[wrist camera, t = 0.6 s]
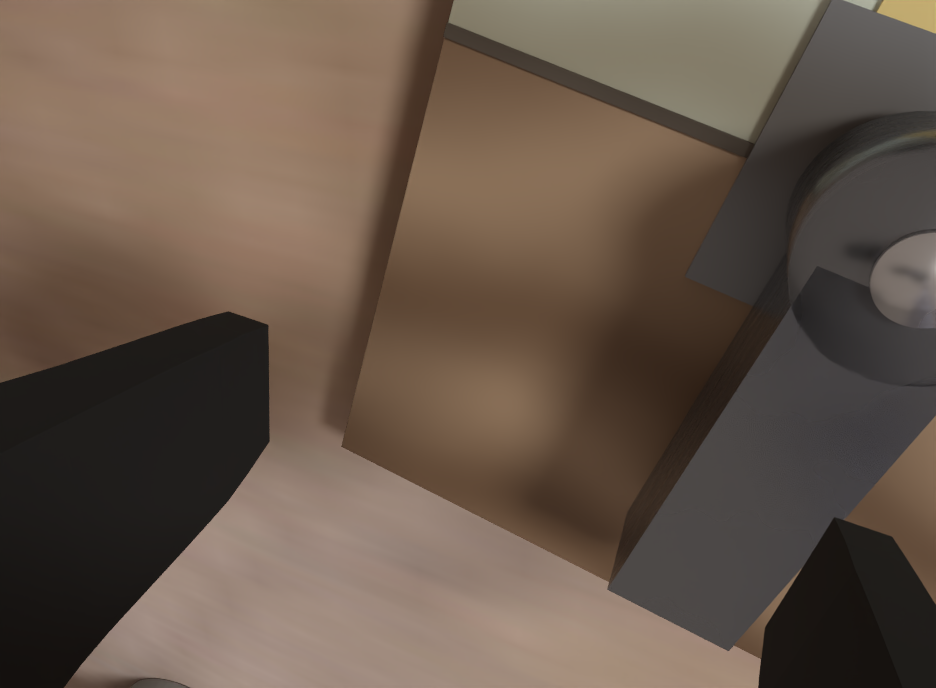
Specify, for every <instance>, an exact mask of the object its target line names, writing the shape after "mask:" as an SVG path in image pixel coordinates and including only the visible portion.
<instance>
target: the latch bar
mask: <svg viewBox="0 0 936 688" xmlns="http://www.w3.org/2000/svg"><path fill="white" fill-rule="evenodd" d="M785 232H786V253H785V255H784V257H783V258H782V260H781V262H780V263H779V265H778V266H777V268H776V270H775V271H774V273H773V275H772V276H771V278H770V279H769V281H768V283H767V284H766V286H765V288H764V289H763V291H762V293H761V294H760V296H759V297H758V299H757V301H756V302H755V304H754V306H753V307H752V309H751V310H750V312H749V314H748V315H747V317H746V319H745V320H744V322H743V324H742V325H741V327H740V328H739V330H738V332H737V333H736V335H735V337H734V338H733V340H732V342H731V343H730V345H729V346H728V348H727V350H726V351H725V353H724V355H723V356H722V358H721V359H720V361H719V363H718V364H717V366H716V368H715V369H714V371H713V373H712V374H711V376H710V377H709V379H708V381H707V382H706V384H705V386H704V387H703V389H702V390H701V392H700V394H699V395H698V397H697V399H696V400H695V402H694V404H693V405H692V407H691V408H690V410H689V412H688V413H687V415H686V417H685V418H684V420H683V422H682V423H681V425H680V426H679V428H678V430H677V431H676V433H675V435H674V436H673V438H672V439H671V441H670V443H669V444H668V446H667V448H666V449H665V451H664V453H663V454H662V456H661V457H660V459H659V461H658V462H657V464H656V466H655V467H654V469H653V471H652V472H651V474H650V475H649V477H648V479H647V480H646V482H645V484H644V485H643V487H642V488H641V490H640V492H639V493H638V495H637V497H636V498H635V500H634V502H633V503H632V505H631V506H630V508H629V510H628V511H627V514H626V518H625V522H624V526H623V530H622V534H621V538H620V542H619V546H618V550H617V554H616V557H615V561H614V565H613V569H612V573H611V577H610V581H609V585H608V589H607V590H609V591H611V592H613V593H615V594H617V595H619V596H621V597H623V598H625V599H627V600H629V601H631V602H633V603H635V604H637V605H639V606H641V607H643V608H645V609H647V610H649V611H651V612H653V613H655V614H656V615H658V616H660V617H662V618H664V619H666V620H668V621H670V622H672V623H674V624H676V625H678V626H680V627H682V628H684V629H686V630H688V631H690V632H692V633H694V634H696V635H698V636H700V637H702V638H704V639H706V640H708V641H710V642H712V643H714V644H716V645H717V646H719V647H721V648H723V649H725V650H727V651H729V650H730V649H731V648H732V647H733V646H734V644H735V643H736V642H737V641H738V640H739V639H740V638H741V637H742V635H743V634H744V633H745V632H746V631H747V630H748V629H749V627H750V626H751V625H752V624H753V623H754V622H755V621H756V619H757V618H758V617H759V616H760V615H761V614H762V613H763V612H764V610H765V609H766V608H767V607H768V606H769V605H770V604H771V602H772V601H773V600H774V599H775V598H776V597H777V596H778V594H779V593H780V592H781V591H782V590H783V589H784V588H785V587H786V585H787V584H788V583H789V582H790V581H791V580H792V579H793V577H794V576H795V575H796V574H797V573H798V572H799V571H800V569H801V568H802V567H803V566H804V564H805V563H806V561H807V560H808V558H809V556H810V555H811V553H812V552H813V550H814V548H815V547H816V545H817V544H818V542H819V541H820V539H821V537H822V536H823V534H824V533H825V531H826V529H827V528H828V526H829V525H830V523H831V521H832V520H833V518H834V517H836V518H839V519H842V520H844V519H845V518H846V517H847V516H848V515H849V514H850V513H851V512H852V510H853V509H854V508H855V507H856V506H857V505H858V504H859V502H860V501H861V500H862V499H863V498H864V497H865V496H866V494H867V493H868V492H869V491H870V490H871V489H872V488H873V487H874V485H875V484H876V483H877V482H878V481H879V480H880V479H881V477H882V476H883V475H884V474H885V473H886V472H887V471H888V469H889V468H890V467H891V466H892V465H893V464H894V463H895V462H896V460H897V459H898V458H899V457H900V456H901V455H902V454H903V452H904V451H905V450H906V449H907V448H908V447H909V446H910V444H911V443H912V442H913V441H914V440H915V439H916V438H917V437H918V435H919V434H920V433H921V432H922V431H923V430H924V429H925V427H926V426H927V425H928V424H929V423H930V422H931V421H932V419H933V418H934V417H935V416H936V111H913V112H903V113H898V114H893V115H887V116H884V117H881V118H878V119H875V120H871V121H869V122H867V123H864V124H862V125H860V126H858V127H855V128H854V129H852V130H850V131H848V132H847V133H845V134H843V135H841V136H840V137H839V138H837V139H836V140H835V141H833V142H832V143H830V144H829V145H828V146H827V147H826V148H825V149H823V150H822V151H821V152H820V153H819V154H818V155H817V156H816V157H815V158H814V159H813V161H812V162H811V163H810V164H809V165H808V166H807V168H806V169H805V171H804V172H803V174H802V175H801V177H800V178H799V180H798V182H797V184H796V186H795V188H794V190H793V192H792V195H791V198H790V201H789V204H788V209H787V214H786V227H785Z"/></svg>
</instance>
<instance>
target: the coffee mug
mask: <svg viewBox="0 0 936 688" xmlns="http://www.w3.org/2000/svg"><path fill="white" fill-rule="evenodd" d="M131 688H189V687H186V686H184V685H181V684H179V683H176V682H172V681H168V680H164V679H144V680H140V681H138V682H136V683H135V684H133V685H132V686H131Z"/></svg>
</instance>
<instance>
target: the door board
mask: <svg viewBox="0 0 936 688" xmlns="http://www.w3.org/2000/svg"><path fill="white" fill-rule="evenodd" d="M443 37H444V41H443V45H442V49H441V53H440V57H439V61H438V65H437V69H436V73H435V77H434V81H433V85H432V89H431V93H430V97H429V101H428V105H427V109H426V113H425V117H424V121H423V125H422V129H421V132H420V136H419V140H418V144H417V148H416V152H415V156H414V160H413V164H412V168H411V172H410V176H409V180H408V184H407V188H406V192H405V196H404V200H403V204H402V208H401V212H400V216H399V220H398V224H397V228H396V232H395V236H394V240H393V244H392V248H391V252H390V256H389V260H388V264H387V268H386V272H385V276H384V279H383V283H382V287H381V291H380V295H379V299H378V303H377V307H376V311H375V315H374V319H373V323H372V327H371V331H370V335H369V339H368V343H367V347H366V351H365V355H364V359H363V363H362V367H361V371H360V375H359V379H358V383H357V387H356V391H355V395H354V399H353V403H352V407H351V411H350V415H349V419H348V423H347V426H346V430H345V434H344V438H343V442H342V446H341V447H343V448H345V449H347V450H349V451H351V452H353V453H355V454H357V455H359V456H361V457H363V458H365V459H367V460H369V461H371V462H373V463H375V464H377V465H379V466H381V467H383V468H385V469H387V470H389V471H391V472H393V473H395V474H397V475H399V476H401V477H403V478H405V479H407V480H408V481H410V482H412V483H414V484H416V485H418V486H420V487H422V488H424V489H426V490H428V491H430V492H432V493H434V494H436V495H438V496H440V497H442V498H444V499H446V500H448V501H450V502H452V503H454V504H456V505H458V506H460V507H462V508H464V509H466V510H468V511H470V512H472V513H474V514H476V515H478V516H480V517H482V518H484V519H486V520H487V521H489V522H491V523H493V524H495V525H497V526H499V527H501V528H503V529H505V530H507V531H509V532H511V533H513V534H515V535H517V536H519V537H521V538H523V539H525V540H527V541H529V542H531V543H533V544H535V545H537V546H539V547H541V548H543V549H545V550H547V551H549V552H551V553H553V554H555V555H557V556H559V557H561V558H563V559H565V560H567V561H568V562H570V563H572V564H574V565H576V566H578V567H580V568H582V569H584V570H586V571H588V572H590V573H592V574H594V575H596V576H598V577H600V578H602V579H604V580H606V581H608V582H609V581H610V577H611V573H612V569H613V565H614V561H615V557H616V554H617V550H618V546H619V542H620V538H621V534H622V530H623V526H624V522H625V518H626V514H627V511H628V510H629V508H630V506H631V505H632V503H633V502H634V500H635V498H636V497H637V495H638V493H639V492H640V490H641V488H642V487H643V485H644V484H645V482H646V480H647V479H648V477H649V475H650V474H651V472H652V471H653V469H654V467H655V466H656V464H657V462H658V461H659V459H660V457H661V456H662V454H663V453H664V451H665V449H666V448H667V446H668V444H669V443H670V441H671V439H672V438H673V436H674V435H675V433H676V431H677V430H678V428H679V426H680V425H681V423H682V422H683V420H684V418H685V417H686V415H687V413H688V412H689V410H690V408H691V407H692V405H693V404H694V402H695V400H696V399H697V397H698V395H699V394H700V392H701V390H702V389H703V387H704V386H705V384H706V382H707V381H708V379H709V377H710V376H711V374H712V373H713V371H714V369H715V368H716V366H717V364H718V363H719V361H720V359H721V358H722V356H723V355H724V353H725V351H726V350H727V348H728V346H729V345H730V343H731V342H732V340H733V338H734V337H735V335H736V333H737V332H738V330H739V328H740V327H741V325H742V324H743V322H744V320H745V319H746V317H747V315H748V314H749V312H750V310H751V309H752V307H753V306H754V304H755V302H756V301H757V299H758V297H759V296H760V294H761V293H762V291H763V289H764V288H765V286H766V284H767V283H768V281H769V279H770V278H771V276H772V275H773V273H774V271H775V270H776V268H777V266H778V265H779V263H780V262H781V260H782V258H783V257H784V255H785V253H786V232H785V227H786V214H787V209H788V204H789V201H790V198H791V195H792V192H793V190H794V188H795V186H796V184H797V182H798V180H799V178H800V177H801V175H802V174H803V172H804V171H805V169H806V168H807V166H808V165H809V164H810V163H811V162H812V161H813V159H814V158H815V157H816V156H817V155H818V154H819V153H820V152H821V151H822V150H823V149H825V148H826V147H827V146H828V145H829V144H830V143H832V142H833V141H835V140H836V139H837V138H839V137H840V136H841V135H843V134H845V133H847V132H848V131H850V130H852V129H854V128H855V127H858V126H860V125H862V124H864V123H867V122H869V121H871V120H875V119H878V118H881V117H884V116H887V115H893V114H898V113H903V112H913V111H936V0H454V1H453V5H452V9H451V13H450V17H449V21H448V23H447V24H446V28H445V32H444V36H443ZM844 520H845V521H848V522H851V523H854V524H857V525H860V526H863V527H866V528H869V529H871V530H874V531H877V532H880V533H883V534H886V535H889V536H892V537H893V539H894V540H895V542H896V543H897V545H898V546H899V548H900V549H901V551H902V552H903V554H904V555H905V557H906V558H907V560H908V561H909V563H910V564H911V566H912V568H913V569H914V571H915V572H916V574H917V575H918V577H919V579H920V580H921V582H922V583H923V585H924V587H925V588H926V590H927V591H928V593H929V595H930V596H931V598H932V599H933V601H934V603H935V604H936V416H935V417H934V418H933V419H932V421H931V422H930V423H929V424H928V425H927V426H926V427H925V429H924V430H923V431H922V432H921V433H920V434H919V435H918V437H917V438H916V439H915V440H914V441H913V442H912V443H911V444H910V446H909V447H908V448H907V449H906V450H905V451H904V452H903V454H902V455H901V456H900V457H899V458H898V459H897V460H896V462H895V463H894V464H893V465H892V466H891V467H890V468H889V469H888V471H887V472H886V473H885V474H884V475H883V476H882V477H881V479H880V480H879V481H878V482H877V483H876V484H875V485H874V487H873V488H872V489H871V490H870V491H869V492H868V493H867V494H866V496H865V497H864V498H863V499H862V500H861V501H860V502H859V504H858V505H857V506H856V507H855V508H854V509H853V510H852V512H851V513H850V514H849V515H848V516H847V517H846V518H845V519H844ZM802 568H803V567H802ZM802 568H801V569H802ZM801 569H800V571H801ZM800 571H799V572H800ZM799 572H798V573H797V574H796V575H795V576H794V577H793V579H792V580H791V581H790V582H789V583H788V584H787V585H786V587H785V588H784V589H783V590H782V591H781V592H780V593H779V594H778V596H777V597H776V598H775V599H774V600H773V601H772V602H771V604H770V605H769V606H768V607H767V608H766V609H765V610H764V612H763V613H762V614H761V615H760V616H759V617H758V618H757V619H756V621H755V622H754V623H753V624H752V625H751V626H750V627H749V629H748V630H747V631H746V632H745V633H744V634H743V635H742V637H741V638H740V639H739V640H738V641H737V642H736V643H735V644H734V646H736V647H738V648H740V649H742V650H744V651H746V652H748V653H750V654H752V655H754V656H756V657H758V658H760V659H761V657H762V648H763V639H764V630H765V626H766V625H767V623H768V622H769V620H770V619H771V617H772V615H773V614H774V612H775V611H776V609H777V607H778V606H779V604H780V603H781V601H782V599H783V598H784V596H785V595H786V593H787V591H788V590H789V588H790V587H791V585H792V584H793V582H794V580H795V579H796V577H797V576H798V574H799Z"/></svg>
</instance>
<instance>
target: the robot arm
mask: <svg viewBox="0 0 936 688" xmlns="http://www.w3.org/2000/svg"><path fill="white" fill-rule="evenodd" d="M268 443H269V345H268V325H267V324H264V323H261V322H258V321H255V320H252V319H249V318H246V317H243V316H240V315H237V314H234V313H231V312H225V313H221V314H217V315H213V316H209V317H206V318H202V319H199V320H196V321H193V322H190V323H186V324H183V325H180V326H177V327H174V328H171V329H168V330H165V331H162V332H159V333H156V334H153V335H150V336H147V337H144V338H141V339H138V340H135V341H132V342H129V343H126V344H123V345H120V346H117V347H114V348H111V349H108V350H105V351H102V352H99V353H96V354H93V355H90V356H86V357H83V358H80V359H77V360H74V361H71V362H68V363H65V364H62V365H59V366H56V367H53V368H49V369H46V370H43V371H39V372H36V373H32V374H29V375H26V376H22V377H19V378H15V379H12V380H9V381H5V382H2V383H0V688H64V687H65V685H66V684H67V683H68V681H69V680H70V679H71V677H72V676H73V675H74V673H75V672H76V671H77V669H78V668H79V667H80V666H81V664H82V663H83V662H84V661H85V660H86V658H87V657H88V656H89V655H90V654H91V652H92V651H93V650H94V649H95V648H96V647H97V645H98V644H99V643H100V642H101V641H102V639H103V638H104V637H105V636H106V635H107V634H108V632H109V631H110V630H111V629H112V628H113V627H114V626H115V625H116V624H117V623H118V622H119V620H120V619H121V618H122V617H123V616H124V615H125V614H126V613H127V612H128V611H129V610H130V608H131V607H132V606H133V605H134V604H135V603H136V602H137V601H138V600H139V599H140V598H141V596H142V595H143V594H144V593H145V592H146V591H147V590H148V589H149V588H150V587H151V586H152V584H153V583H154V582H155V581H156V580H157V579H158V578H159V577H160V576H161V575H162V574H163V572H164V571H165V570H166V569H167V568H168V567H169V566H170V565H171V564H172V563H173V562H174V561H175V559H176V558H177V557H178V556H179V555H180V554H181V553H182V552H183V551H184V550H185V549H186V547H187V546H188V545H189V544H190V543H191V542H192V541H193V540H194V539H195V537H196V536H197V535H198V534H199V533H200V532H201V531H202V530H203V529H204V527H205V526H206V525H207V524H208V523H209V522H210V521H211V520H212V519H213V517H214V516H215V515H216V514H217V513H218V512H219V511H220V510H221V508H222V507H223V506H224V505H225V504H226V503H227V502H228V500H229V499H230V498H231V496H232V495H233V493H234V492H235V491H236V489H237V488H238V486H239V485H240V484H241V482H242V481H243V480H244V478H245V477H246V475H247V474H248V473H249V471H250V470H251V468H252V467H253V465H254V464H255V462H256V461H257V459H258V458H259V456H260V455H261V453H262V452H263V450H264V449H265V447H266V446H267V444H268ZM758 688H936V604H935V603H934V601H933V599H932V598H931V596H930V595H929V593H928V591H927V590H926V588H925V587H924V585H923V583H922V582H921V580H920V579H919V577H918V575H917V574H916V572H915V571H914V569H913V568H912V566H911V564H910V563H909V561H908V560H907V558H906V557H905V555H904V554H903V552H902V551H901V549H900V548H899V546H898V545H897V543H896V542H895V540H894V539H893V537H892V536H889V535H886V534H883V533H880V532H877V531H874V530H871V529H869V528H866V527H863V526H860V525H857V524H854V523H851V522H848V521H845V520H842V519H839V518H836V517H834V518H833V520H832V521H831V523H830V525H829V526H828V528H827V529H826V531H825V533H824V534H823V536H822V537H821V539H820V541H819V542H818V544H817V545H816V547H815V548H814V550H813V552H812V553H811V555H810V556H809V558H808V560H807V561H806V563H805V564H804V566H803V568H802V569H801V571H800V572H799V574H798V576H797V577H796V579H795V580H794V582H793V584H792V585H791V587H790V588H789V590H788V591H787V593H786V595H785V596H784V598H783V599H782V601H781V603H780V604H779V606H778V607H777V609H776V611H775V612H774V614H773V615H772V617H771V619H770V620H769V622H768V623H767V625H766V626H765V630H764V639H763V648H762V657H761V666H760V675H759V686H758Z"/></svg>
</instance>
